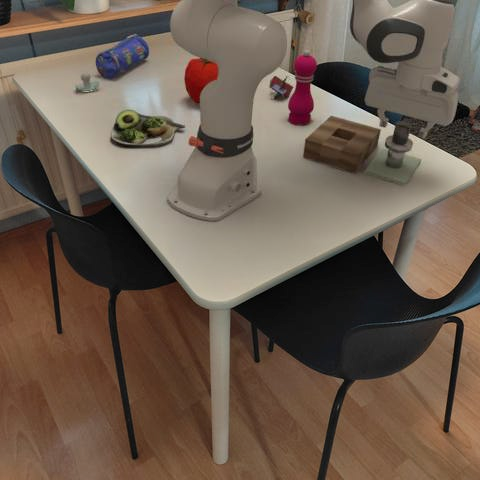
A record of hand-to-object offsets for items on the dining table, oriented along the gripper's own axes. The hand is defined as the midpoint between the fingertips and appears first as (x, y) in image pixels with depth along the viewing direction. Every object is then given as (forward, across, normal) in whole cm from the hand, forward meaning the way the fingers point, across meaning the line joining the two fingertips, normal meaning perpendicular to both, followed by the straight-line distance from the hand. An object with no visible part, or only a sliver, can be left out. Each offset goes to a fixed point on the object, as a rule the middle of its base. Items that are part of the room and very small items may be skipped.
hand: (402, 131), depth 119 cm
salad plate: (+10, -63, -21) cm, 67 cm away
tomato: (+10, -60, +5) cm, 61 cm away
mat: (+10, 0, 0) cm, 10 cm away
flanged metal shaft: (+9, 0, 0) cm, 9 cm away
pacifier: (+10, -95, -9) cm, 96 cm away
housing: (+10, -14, 0) cm, 17 cm away
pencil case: (+10, -97, +11) cm, 98 cm away
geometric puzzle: (+10, -43, +21) cm, 49 cm away
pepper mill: (+10, -31, +10) cm, 34 cm away
